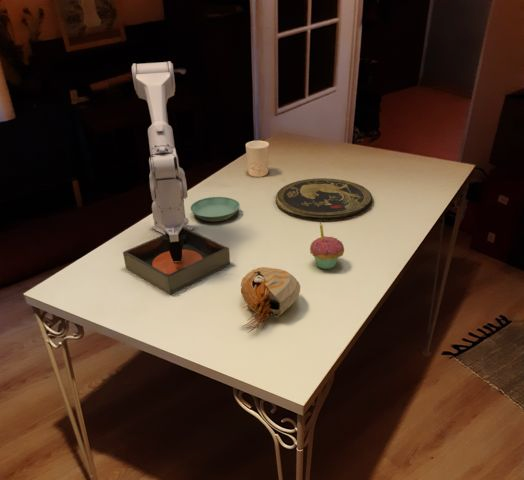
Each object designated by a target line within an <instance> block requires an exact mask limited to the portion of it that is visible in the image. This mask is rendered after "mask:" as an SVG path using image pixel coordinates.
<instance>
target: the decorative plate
mask: <svg viewBox="0 0 524 480" xmlns="http://www.w3.org/2000/svg"><path fill="white" fill-rule="evenodd" d="M373 199H374V198H373V195H372V193H371V192H370V191H369V190H368V188H366V187H364V186H362V185H360V184H358V183H356V182H352V181H350V180H345V179H338V178H325V177H324V178H317V177H316V178H307V179H301V180H297V181H294V182H291V183H288V184H286V185H284V186H283V187H281V188H280V189H279V190H278V191H277V193H276V196H275V204H276V206H277V207H278V208H279V209H280V210H281V211H282V212H284V213H285V214H289V215H290V216H293V217H296V218H300V219H303V220H304V219H305V220H311V221H339V220H345V219H350V218H351V219H352V218H354V217H357V216H360V215H362V214H363V213H366V212H367V211H368V210H369V209H371V206H372V205H373Z"/></svg>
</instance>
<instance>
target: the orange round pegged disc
mask: <svg viewBox="0 0 524 480" xmlns="http://www.w3.org/2000/svg"><path fill="white" fill-rule="evenodd" d="M201 259H203V258H202V256H201V255H200V254H199V253H197V252H195V251H191V250H182V260H181V261H173V260H172V257H171V255H170V252H169V251H168V252H165V253H162V254H160V255H158V256H157V257H156V258H155V259H154V260H153V262H152V266H153V267H154V268H156V269H158V270H160V271H162V272H163V273H165V274H167V275H170V274H172V273H174V272H176V271H178V270H180V269H182V268H184V267H186V266H188V265H191V264H193V263H195V262H197V261H199V260H201Z"/></svg>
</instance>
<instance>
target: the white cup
mask: <svg viewBox="0 0 524 480" xmlns="http://www.w3.org/2000/svg"><path fill="white" fill-rule="evenodd" d="M245 153H246V164H247V171H248V172H247V173H248V175H249V176H251V177H255V178H259V177H260V178H261V177H265V176H267V175H268V173H269V161H270V160H269V158H270V143H269V142H268V141H265V140H252V141H248V142H246V143H245Z"/></svg>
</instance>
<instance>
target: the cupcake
mask: <svg viewBox="0 0 524 480" xmlns="http://www.w3.org/2000/svg"><path fill="white" fill-rule="evenodd" d="M323 227H324V226H323V224H322V222H321V221H320V222H319V231H320V237H318V238H316V239H315V240H313V241H312V242H311V243H310V248H309V253H310V254H311V256H313V257H314V260H315V263H316V266H317V267H318V268H320V269H324V270H330V269H333V268H334V267H336V264H337V262H338V259H340V257H342V256H344V254H345V247H344V244H343V242H342V241H341V240H340V239H338V238H336V237H334V236H324V228H323Z"/></svg>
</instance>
